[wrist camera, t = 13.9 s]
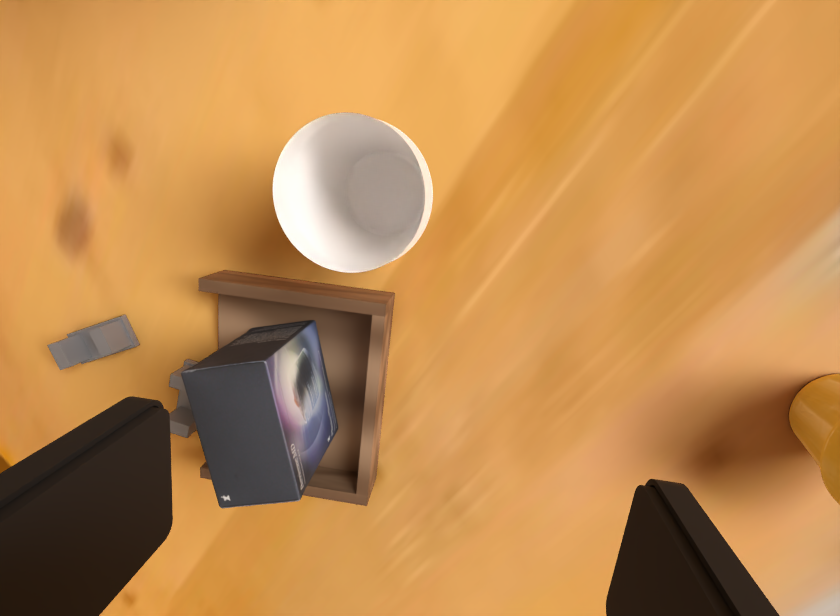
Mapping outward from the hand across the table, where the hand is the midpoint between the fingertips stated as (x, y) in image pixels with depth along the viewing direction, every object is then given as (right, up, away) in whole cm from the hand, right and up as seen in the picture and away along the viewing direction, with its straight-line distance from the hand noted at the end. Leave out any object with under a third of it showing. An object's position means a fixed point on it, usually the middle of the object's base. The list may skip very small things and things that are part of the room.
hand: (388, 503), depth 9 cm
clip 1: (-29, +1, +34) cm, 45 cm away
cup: (-2, +13, +29) cm, 31 cm away
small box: (-10, -2, +32) cm, 34 cm away
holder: (-10, -3, +33) cm, 35 cm away
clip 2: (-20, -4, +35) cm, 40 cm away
